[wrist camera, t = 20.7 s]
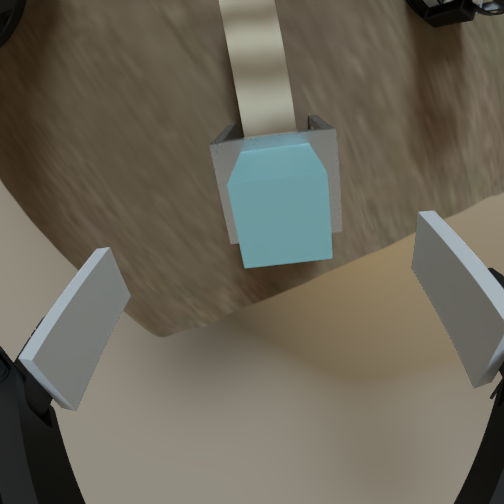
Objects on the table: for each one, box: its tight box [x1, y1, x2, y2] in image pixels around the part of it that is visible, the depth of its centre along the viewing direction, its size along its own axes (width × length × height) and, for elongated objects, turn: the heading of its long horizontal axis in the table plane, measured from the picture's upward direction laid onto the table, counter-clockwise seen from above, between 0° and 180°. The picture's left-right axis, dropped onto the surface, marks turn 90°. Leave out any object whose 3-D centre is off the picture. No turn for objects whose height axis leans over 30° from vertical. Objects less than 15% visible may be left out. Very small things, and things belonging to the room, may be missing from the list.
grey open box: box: [209, 115, 342, 244], centre depth 33 cm, size 10×11×12 cm
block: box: [227, 143, 332, 268], centre depth 23 cm, size 6×6×9 cm
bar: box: [219, 0, 296, 137], centre depth 29 cm, size 22×5×9 cm, turn 9°
